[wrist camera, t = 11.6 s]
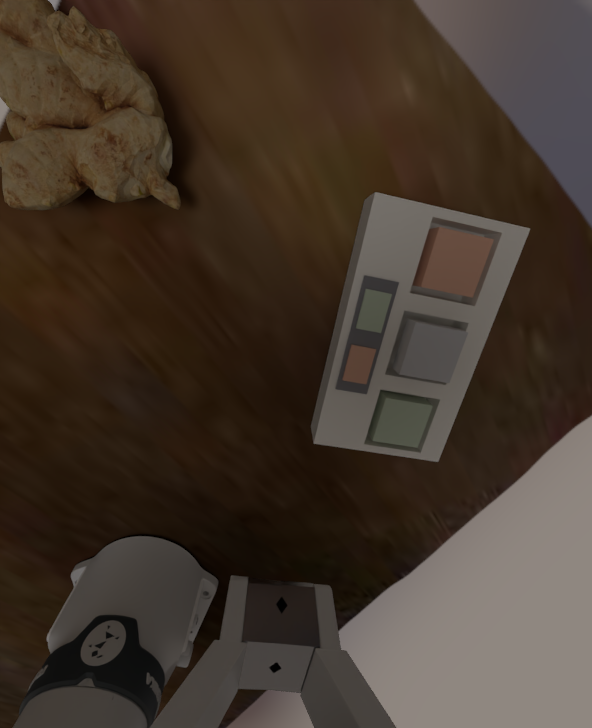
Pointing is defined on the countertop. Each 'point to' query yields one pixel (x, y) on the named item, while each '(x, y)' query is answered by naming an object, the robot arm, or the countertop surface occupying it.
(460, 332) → the grey key
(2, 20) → the ginger root
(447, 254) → the terracotta key
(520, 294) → the countertop surface
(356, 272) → the keypad
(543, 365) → the countertop surface
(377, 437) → the sage key
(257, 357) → the countertop surface
